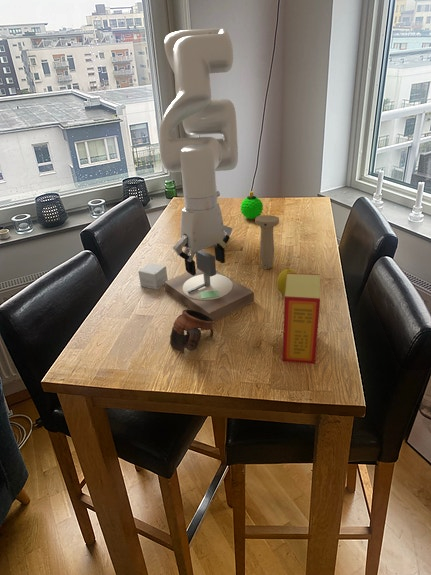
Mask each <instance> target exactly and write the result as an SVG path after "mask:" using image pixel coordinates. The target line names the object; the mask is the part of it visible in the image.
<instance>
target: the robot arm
mask: <svg viewBox="0 0 431 575" xmlns="http://www.w3.org/2000/svg"><path fill="white" fill-rule="evenodd" d="M233 48H234V46H233V43H232V39H231V37H230V34H229V32H228V30H227V29H225V28H223V27H219V28H218V27H216V28H203V29H202V28H201V29H198V28H197V29H185V30H178V31H174V32H170V33H168V34H167V35H166V36H165V38H164V51H165V54H166V58H167V61H168V63H169V65H170V67H171V70H172V72H173V74H174V82H175V84H174V85H175V87H174V88H175V98H174V100H172V102H171V103H170V105H169V106H168V107H167V108H166V110H165V111H164V114H163V116H162V118H161V121H160V124H159V149H160V150H159V151H160V160H161V164H162V166H163V168H164V169H165V170H166V171H167V172H170V173H181V180H182V181H181V182H182V192H183V201H184V207H183V208H182V209H181V214H180V239H179V240H178V242H176V244H175V245H174V246H173V248H172V249H173V251H174V252H175V254H177V255H178V257H180V258H182V259H184V266H185V270H186V273H187V272H188V273H190V274H191V275H193V276H194V275H196V269H197V268H196V260H194V257H195V256H196V251H199V250H204V249H207V248H210V247H212V246H214V256H215V261H217V262H218V263H220V264H225V263H226V248H227V244H228V242H229V241H230V236H231V234H232V232H233V228H232V227H230V226H228V225H225V224H224V220H223V214H222V209H221V207H220V204H219V202H218V197H220V195H221V193H220V191H219V190H217V179H216V172H224V171H225V172H226V171H231V170H234V169H235V168H236V167H238V166H237V165H238V162H239V146H238V129H237V128H238V126H237V124H238V123H237V114H236V108H235V105H234V103H233V102H232V101H231V100H230V99H227V98H217V99H212V92H211V91H212V90H211V80H210V79H211V78H210V74H219V73H221V74H222V73H228V72H230V71H231V70H232V67H233V63H234V49H233ZM180 123H182V126H183V130H184V132H185V133H186V134H187V135H190V136H194V137H182V138H181V137H180V138H172V135H173V132H174V131H175V128H176V127H177V126H178V125H179V124H180ZM205 135H206V136H205ZM207 135H220V136H221V138H216V137H213V136H207ZM195 136H196V137H195ZM197 136H198V137H197ZM200 136H201V137H200ZM183 248H184V250H183Z"/></svg>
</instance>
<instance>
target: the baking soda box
mask: <svg viewBox="0 0 431 575" xmlns="http://www.w3.org/2000/svg"><path fill="white" fill-rule="evenodd" d="M320 278H321V275H320V274H318V273H317V274H316V273H297V272H296V273H287V280H286V289H285V295H284V301H283V302H284V304H283V305H284V306H283V334H282V335H283V342H282V343H283V344H282V345H283V346H282V362H288V363H289V362H291V363H302V364H316V358H317V357H316V354H317V342H318V333H319V332H318V331H319V330H318V329H319V318H320V307H321V306H320V304H321V282H320V281H321V279H320Z"/></svg>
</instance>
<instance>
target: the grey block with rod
mask: <svg viewBox="0 0 431 575" xmlns="http://www.w3.org/2000/svg"><path fill="white" fill-rule="evenodd" d="M195 264H196V269H199V270H201V271H202V272H203V274H204V284H202V285H200V286H197V287H195V288H193V289H190V290H188V291H187V292H188V293H191V292H193V291H195V290H198V289H200V288H202V287H204V286H207V287H208V286H210V285H211V283H210V276H211V277H212V276H214V275H216V270H217V267H216V265H217V264H216V259H215V255H212V254H211V253H210V252H207V251H205V250H204V249H202V250H199V251H196V253H195Z"/></svg>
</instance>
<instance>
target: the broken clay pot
mask: <svg viewBox="0 0 431 575" xmlns="http://www.w3.org/2000/svg"><path fill="white" fill-rule="evenodd" d="M213 324H214V322H212V319H211V318H210V317H208V316H207V315H205V314H202V313H200V312H197V311H194V310H191V309H189V308H185V309H183V310H182V313H181V314H180V315H179V316H177V318H176V319H175V320H174V322H173V324H172V325H173V326H172V329H171V332H170V334H169V338H170V339H169V345H170V346H171V348H173V349H174V350H175V351H177V352H179V353H182V354H184V352H185V349H186V350H187V351H189V352H193V351H195V350H197V349H198V346H199V342H200V341H201V338H202V331H210V334H209V337H210V339H213V337H214V333H215V332H214V328H213ZM185 332H186V334H185Z"/></svg>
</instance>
